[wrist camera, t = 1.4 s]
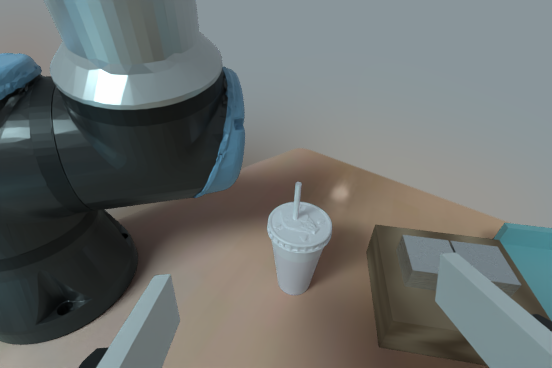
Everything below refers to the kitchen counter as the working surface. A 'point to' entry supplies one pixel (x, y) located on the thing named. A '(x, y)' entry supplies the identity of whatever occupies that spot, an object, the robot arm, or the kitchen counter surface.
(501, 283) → the chip
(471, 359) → the olive-brown boxy piece
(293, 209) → the smoothie
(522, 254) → the tray
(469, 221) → the kitchen counter surface
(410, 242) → the chip
